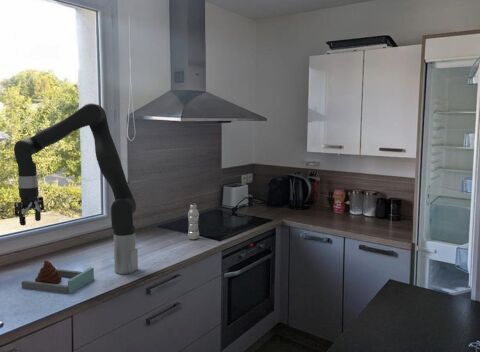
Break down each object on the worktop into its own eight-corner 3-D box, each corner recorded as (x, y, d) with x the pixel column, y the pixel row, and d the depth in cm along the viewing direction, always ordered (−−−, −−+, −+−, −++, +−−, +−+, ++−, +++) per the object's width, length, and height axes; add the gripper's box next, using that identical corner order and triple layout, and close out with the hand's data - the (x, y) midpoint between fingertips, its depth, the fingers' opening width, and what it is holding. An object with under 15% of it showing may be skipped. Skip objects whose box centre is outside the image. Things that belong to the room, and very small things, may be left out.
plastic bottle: (188, 241, 230) (188, 206, 228) (187, 237, 237) (186, 203, 234) (200, 240, 232) (200, 205, 229) (198, 237, 238) (197, 203, 236)
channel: (94, 278, 174) (94, 267, 174) (70, 293, 159) (70, 281, 158) (49, 273, 180) (48, 262, 179) (21, 287, 164) (21, 275, 164)
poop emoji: (31, 286, 166) (30, 264, 165) (40, 278, 174) (39, 257, 173) (57, 286, 167) (56, 263, 165) (64, 278, 175) (63, 256, 174)
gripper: (22, 189, 169) (25, 227, 171) (47, 184, 183) (49, 219, 185) (7, 188, 171) (10, 226, 173) (33, 183, 185) (35, 218, 187)
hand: (30, 222), depth 179 cm, fingers open, 8 cm apart
